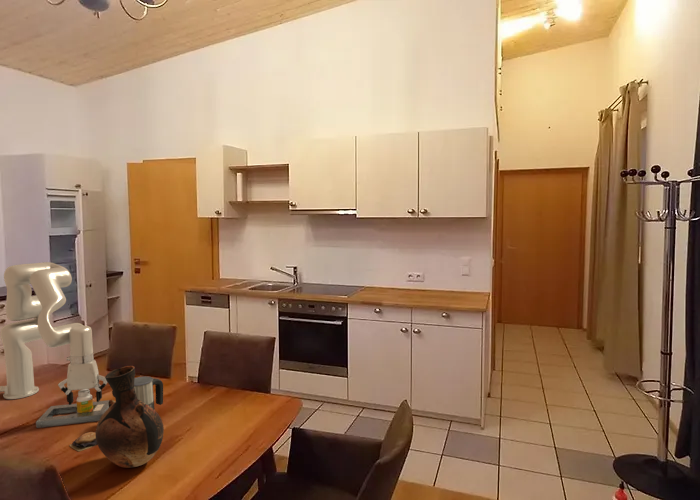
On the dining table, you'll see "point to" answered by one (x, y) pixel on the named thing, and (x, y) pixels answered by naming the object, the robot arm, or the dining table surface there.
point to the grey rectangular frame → (71, 415)
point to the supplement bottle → (84, 401)
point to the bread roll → (84, 441)
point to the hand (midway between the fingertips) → (85, 402)
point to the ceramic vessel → (128, 423)
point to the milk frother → (148, 390)
